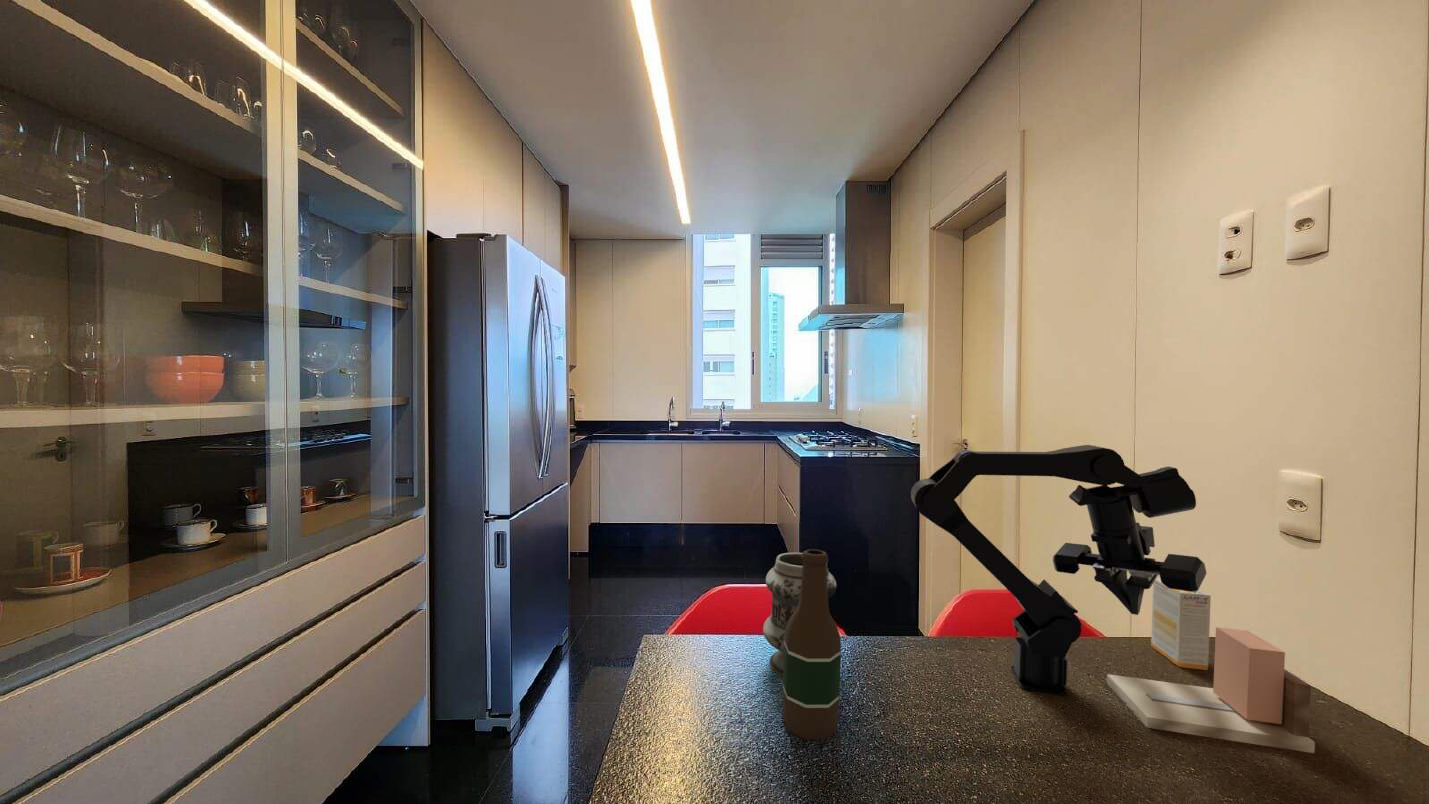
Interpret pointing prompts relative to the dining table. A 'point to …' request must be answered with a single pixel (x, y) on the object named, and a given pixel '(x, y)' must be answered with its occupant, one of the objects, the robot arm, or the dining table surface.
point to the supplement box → (1181, 625)
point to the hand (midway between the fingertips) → (1135, 613)
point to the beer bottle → (812, 657)
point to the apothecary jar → (785, 601)
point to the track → (1217, 712)
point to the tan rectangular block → (1249, 675)
